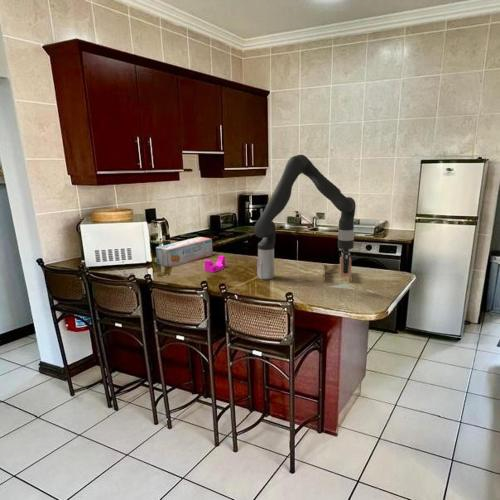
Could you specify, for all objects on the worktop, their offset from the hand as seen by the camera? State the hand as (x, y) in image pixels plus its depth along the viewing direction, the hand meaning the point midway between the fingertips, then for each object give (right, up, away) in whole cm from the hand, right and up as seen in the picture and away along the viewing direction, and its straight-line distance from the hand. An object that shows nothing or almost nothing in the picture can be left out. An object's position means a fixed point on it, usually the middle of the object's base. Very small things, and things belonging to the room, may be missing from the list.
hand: (345, 271), depth 191 cm
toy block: (-69, -2, +51) cm, 85 cm away
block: (0, -2, 0) cm, 2 cm away
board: (0, -11, +3) cm, 11 cm away
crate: (+2, -5, +27) cm, 27 cm away
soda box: (-93, +3, +78) cm, 121 cm away
